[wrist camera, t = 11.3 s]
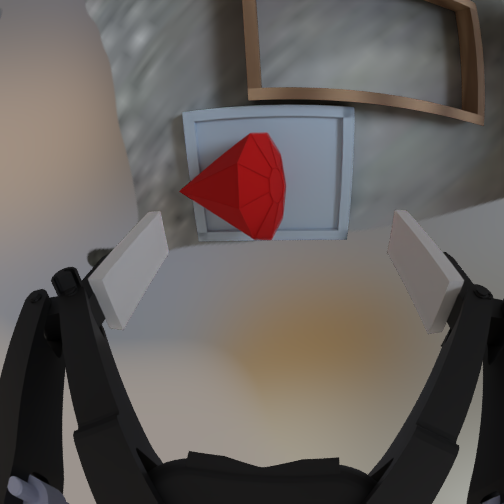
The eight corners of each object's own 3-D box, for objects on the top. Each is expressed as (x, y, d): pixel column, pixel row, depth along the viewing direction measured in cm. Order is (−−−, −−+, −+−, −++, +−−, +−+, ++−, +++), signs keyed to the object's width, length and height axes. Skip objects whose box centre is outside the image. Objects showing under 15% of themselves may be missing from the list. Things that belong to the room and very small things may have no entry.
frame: (460, 7, 14) (475, 3, 11) (467, 121, 21) (483, 126, 18) (242, -29, 16) (239, -41, 13) (251, 100, 23) (248, 100, 20)
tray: (349, 106, 22) (354, 107, 21) (343, 232, 29) (346, 239, 28) (186, 111, 24) (182, 112, 22) (202, 234, 30) (198, 241, 29)
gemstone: (187, 255, 28) (282, 263, 23) (129, 203, 21) (237, 196, 16) (216, 185, 32) (302, 180, 27) (174, 128, 25) (271, 108, 20)
